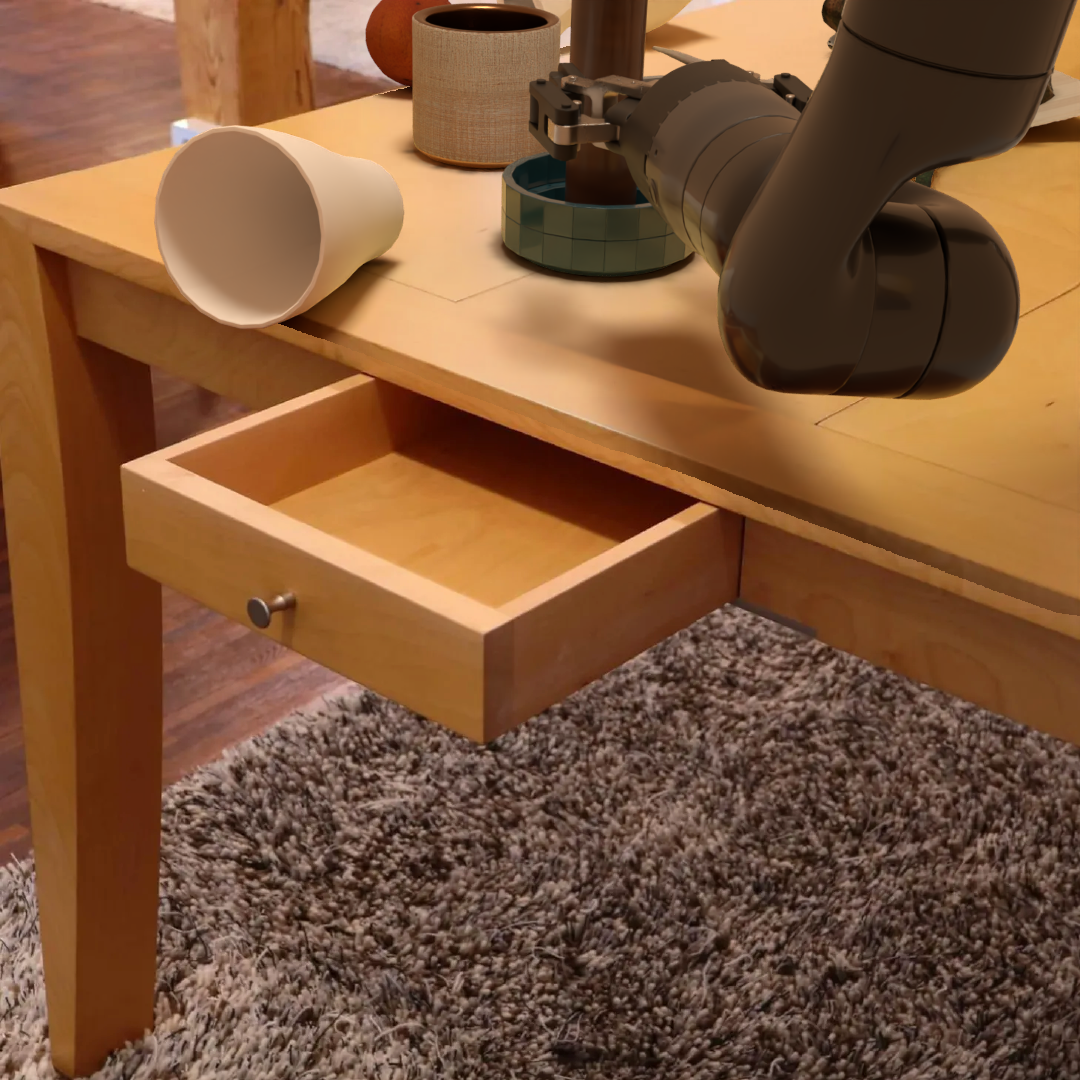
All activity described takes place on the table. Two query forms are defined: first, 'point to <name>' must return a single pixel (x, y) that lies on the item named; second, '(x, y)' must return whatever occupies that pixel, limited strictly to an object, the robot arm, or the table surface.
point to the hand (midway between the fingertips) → (639, 79)
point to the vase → (660, 10)
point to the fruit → (395, 36)
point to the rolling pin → (618, 49)
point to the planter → (479, 80)
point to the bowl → (580, 226)
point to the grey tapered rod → (689, 58)
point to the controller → (1060, 100)
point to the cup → (269, 222)
